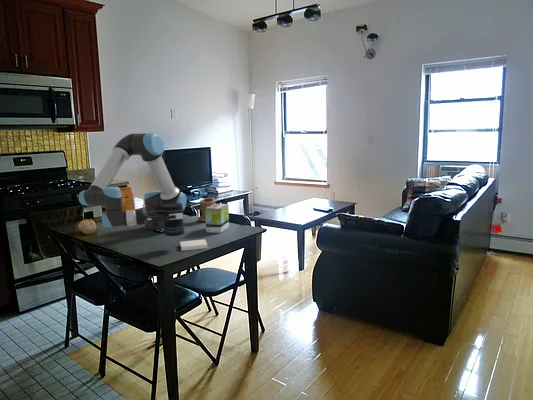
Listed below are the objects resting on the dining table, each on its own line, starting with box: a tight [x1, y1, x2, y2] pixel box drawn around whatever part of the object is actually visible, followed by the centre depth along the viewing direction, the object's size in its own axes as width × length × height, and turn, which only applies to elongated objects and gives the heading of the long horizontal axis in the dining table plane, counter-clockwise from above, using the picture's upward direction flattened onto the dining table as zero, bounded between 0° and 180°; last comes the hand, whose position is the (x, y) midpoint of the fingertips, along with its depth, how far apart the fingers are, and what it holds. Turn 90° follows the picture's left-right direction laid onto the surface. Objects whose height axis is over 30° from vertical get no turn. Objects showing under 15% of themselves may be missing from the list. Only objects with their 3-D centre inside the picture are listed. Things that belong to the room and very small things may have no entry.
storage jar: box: [163, 203, 185, 237], centre depth 203 cm, size 10×10×15 cm
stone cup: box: [197, 197, 216, 222], centre depth 266 cm, size 15×12×15 cm
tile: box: [179, 238, 209, 252], centre depth 208 cm, size 2×10×13 cm
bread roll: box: [77, 218, 97, 235], centre depth 244 cm, size 10×15×8 cm, turn 44°
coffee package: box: [119, 185, 136, 211], centre depth 280 cm, size 10×12×22 cm
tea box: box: [205, 203, 230, 234], centre depth 241 cm, size 15×10×15 cm, turn 168°
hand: (182, 213), depth 204 cm, fingers closed on storage jar, 10 cm apart
